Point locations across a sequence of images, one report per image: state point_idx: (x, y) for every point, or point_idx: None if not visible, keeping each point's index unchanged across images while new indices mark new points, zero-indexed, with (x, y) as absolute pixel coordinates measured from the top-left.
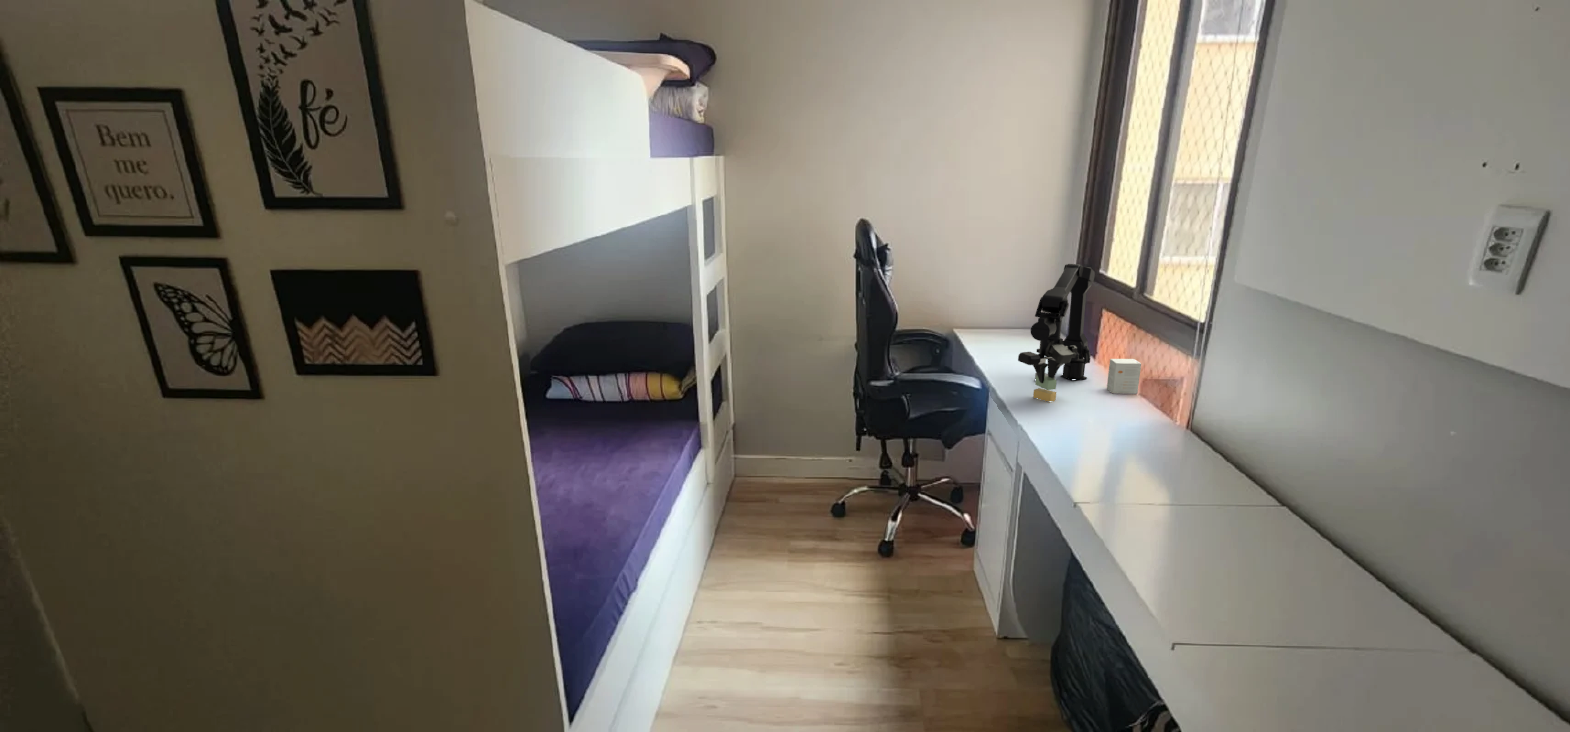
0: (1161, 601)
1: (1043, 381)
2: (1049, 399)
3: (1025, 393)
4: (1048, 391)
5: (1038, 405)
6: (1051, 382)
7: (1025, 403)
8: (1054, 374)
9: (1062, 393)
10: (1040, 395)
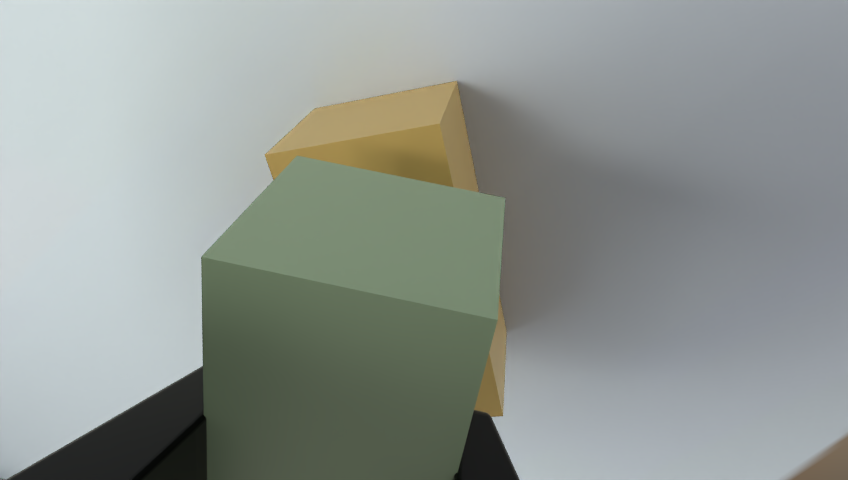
0: None
1: None
2: (455, 117)
3: None
4: None
5: (747, 85)
6: (395, 263)
7: (814, 252)
8: (87, 469)
9: (29, 252)
10: None
